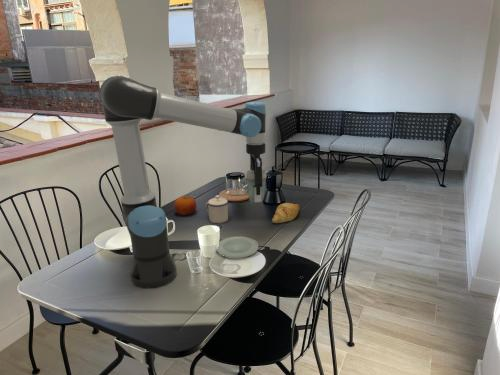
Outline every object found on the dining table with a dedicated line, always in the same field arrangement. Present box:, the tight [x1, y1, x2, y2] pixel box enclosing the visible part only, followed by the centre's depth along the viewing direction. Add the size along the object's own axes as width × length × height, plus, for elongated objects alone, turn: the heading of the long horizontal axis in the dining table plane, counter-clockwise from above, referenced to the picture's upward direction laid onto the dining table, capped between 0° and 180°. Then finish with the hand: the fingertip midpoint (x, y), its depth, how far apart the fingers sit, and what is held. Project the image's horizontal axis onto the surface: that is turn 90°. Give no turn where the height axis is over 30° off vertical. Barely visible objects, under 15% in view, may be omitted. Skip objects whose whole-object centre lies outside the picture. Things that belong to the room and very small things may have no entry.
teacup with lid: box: [205, 194, 229, 224], centre depth 167 cm, size 12×9×12 cm
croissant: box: [271, 202, 301, 224], centre depth 169 cm, size 21×10×8 cm, turn 143°
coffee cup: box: [244, 169, 268, 203], centre depth 148 cm, size 8×8×12 cm
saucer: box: [216, 235, 259, 259], centre depth 141 cm, size 16×16×2 cm
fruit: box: [173, 195, 197, 216], centre depth 175 cm, size 11×10×8 cm
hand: (256, 198), depth 149 cm, fingers closed on coffee cup, 8 cm apart
